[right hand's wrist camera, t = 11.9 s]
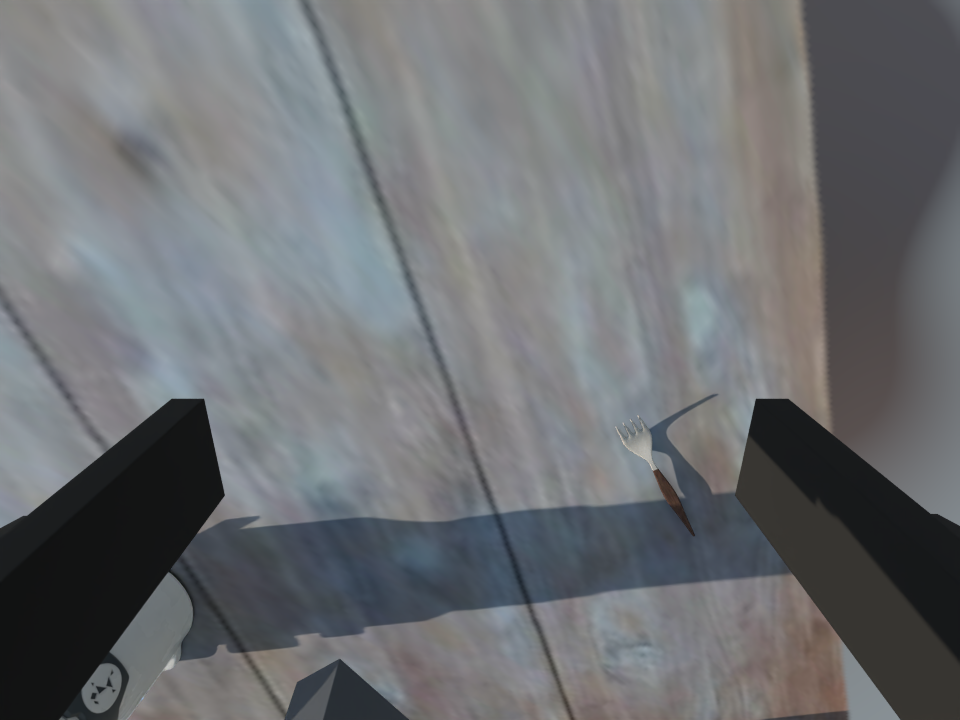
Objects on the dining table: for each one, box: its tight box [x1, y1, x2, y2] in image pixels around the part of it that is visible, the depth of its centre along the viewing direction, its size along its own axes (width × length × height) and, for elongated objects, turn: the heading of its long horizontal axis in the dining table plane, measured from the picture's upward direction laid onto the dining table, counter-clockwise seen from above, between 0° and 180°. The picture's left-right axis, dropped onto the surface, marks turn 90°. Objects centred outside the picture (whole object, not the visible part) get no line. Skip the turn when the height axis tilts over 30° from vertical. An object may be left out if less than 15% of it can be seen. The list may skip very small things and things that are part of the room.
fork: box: [616, 415, 695, 536], centre depth 49 cm, size 3×16×2 cm, turn 32°
